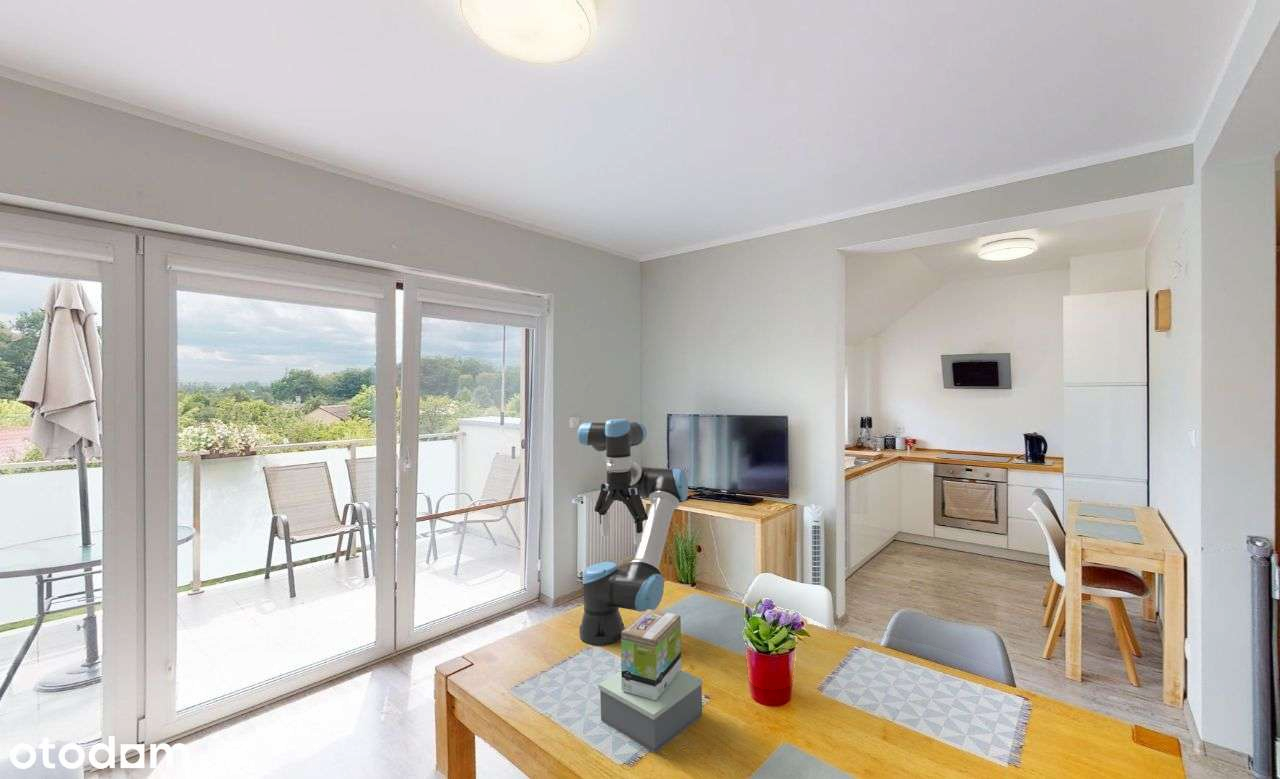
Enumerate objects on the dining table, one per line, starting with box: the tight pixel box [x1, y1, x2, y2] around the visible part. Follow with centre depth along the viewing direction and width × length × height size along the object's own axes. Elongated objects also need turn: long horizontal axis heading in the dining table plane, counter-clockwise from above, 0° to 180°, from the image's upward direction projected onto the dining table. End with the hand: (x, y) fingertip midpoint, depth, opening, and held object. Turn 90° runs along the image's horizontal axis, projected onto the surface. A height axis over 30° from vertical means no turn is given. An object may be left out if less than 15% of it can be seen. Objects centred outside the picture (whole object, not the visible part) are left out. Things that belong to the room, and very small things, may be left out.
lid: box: [598, 669, 703, 720], centre depth 132 cm, size 18×18×1 cm
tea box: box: [620, 609, 682, 700], centre depth 132 cm, size 15×10×15 cm
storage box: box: [599, 683, 703, 754], centre depth 132 cm, size 18×18×8 cm
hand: (621, 539), depth 161 cm, fingers open, 13 cm apart
